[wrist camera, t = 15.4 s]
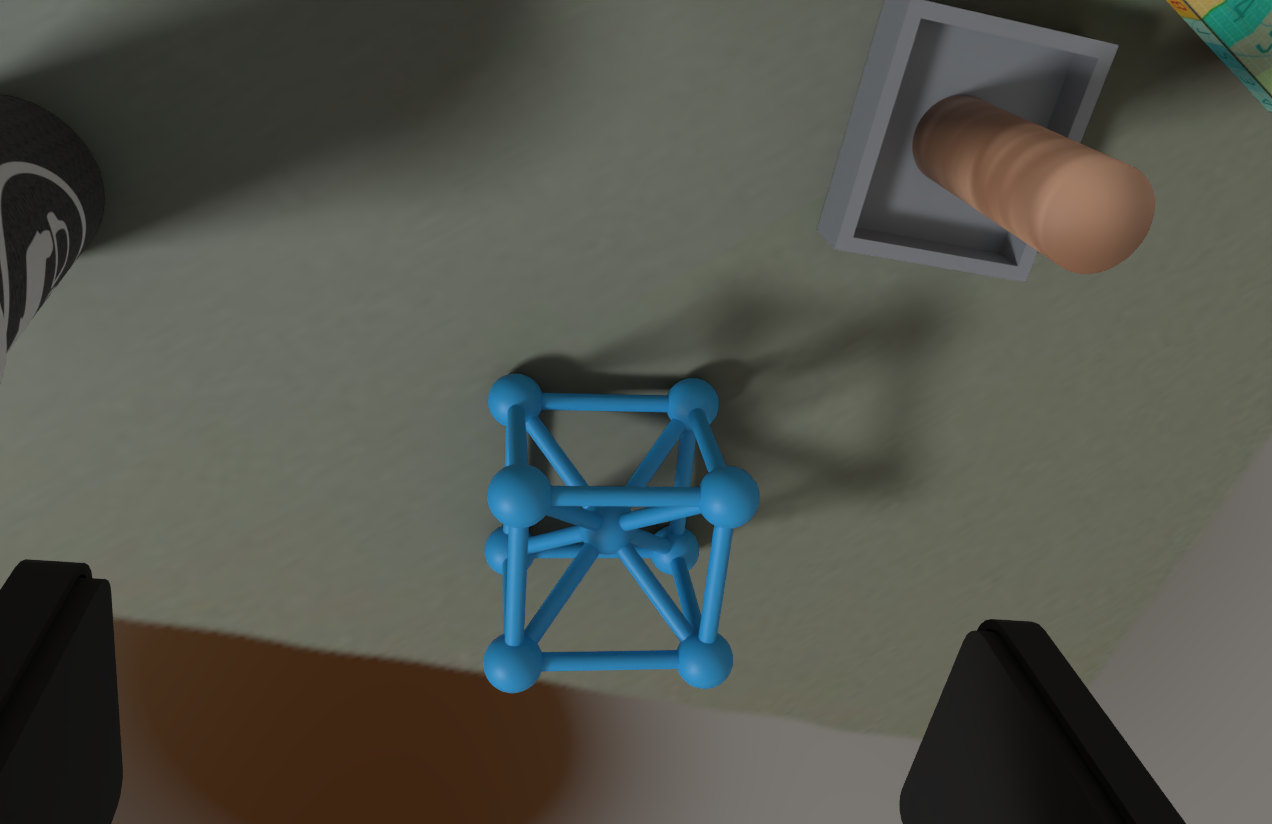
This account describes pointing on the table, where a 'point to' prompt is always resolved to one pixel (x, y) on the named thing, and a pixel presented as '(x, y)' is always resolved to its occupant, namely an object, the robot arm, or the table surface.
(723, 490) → the molecular structure
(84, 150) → the coffee cup
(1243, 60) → the puzzle game
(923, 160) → the dowel
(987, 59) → the tray
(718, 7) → the table surface
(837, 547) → the table surface
